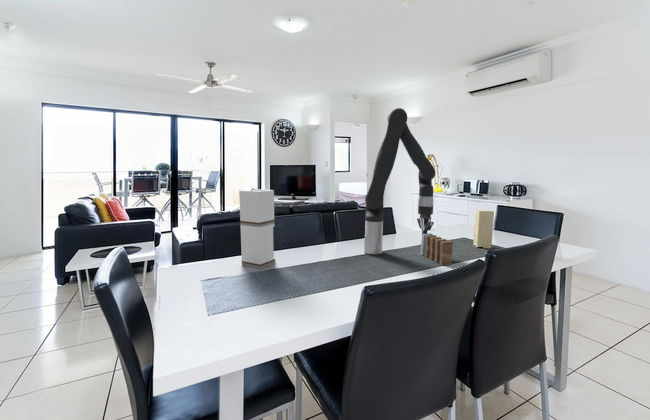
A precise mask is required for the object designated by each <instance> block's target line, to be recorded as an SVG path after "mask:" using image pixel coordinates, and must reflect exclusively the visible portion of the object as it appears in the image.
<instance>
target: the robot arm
mask: <svg viewBox="0 0 650 420" xmlns="http://www.w3.org/2000/svg"><path fill="white" fill-rule="evenodd" d="M407 121H408V114H407V112H406V111H405V110H404V109H403V108H400V107H399V108H398V107H397V108H394V109H392V110H390V112H389V114H388V115H387V128H386V132H385V136H384V138H383V141H382V142H381V145H380V147H379V150H378V153H377V155H376V159H375V163H374V168H373V174H372V179H371V183H370V186H369V189H368V191H367V193H366V194H365V195H366V196H365V217H364V218H365V221H364V222H365V223H364V225H365V227H364V229H365V230H364V250H363V251H364V254H368V255H381V254H383V240H384V239H383V238H384V237H383V234H384V233H383V232H384V231H383V230H384V229H383V228H384V226H383V225H384V199H385V198H384V196H385V191H386V186H387V182H388V180H389V179H390V176H391V174H392V172H393V168H394V165H395V161H396V158H397V155H398V150H399V146H400V142H401V143H402V145H403V147H404V149H405V150H406V152H407V154H408V156H409V158H410V160H411V162H412V163H413V165H415V166H416V167H417V169H418V186H419V188H418V201H417V203H418V204H417V206H418V208H417V214H418V215H419V218H417V219H416V221H417V224H418V227H419V229H421V235H422V234H428V231H431V230H432V227H433V226H434V225H435V223H434V221H432V217H431V216H432V215H433V214H434V186H433V183H432V181H433V179H434V178H435V177H436V170H435V168H434V166H433V164H432V163H431V161H430V160H429V159H428V157H427V156H426V154H425V152H424V150H423V147H422V146H421V144H420V143H419V142H418V141H417V139H416V138H415V137H414V134H412V131H411V130H410V128H409V126H408V123H407Z"/></svg>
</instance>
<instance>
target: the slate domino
mask: <svg viewBox="0 0 650 420" xmlns="http://www.w3.org/2000/svg"><path fill="white" fill-rule="evenodd" d="M428 235H434V234H433V233H427V234H422V233H421V242H420V251H419V252H420V253H419V254H420V255H421V256H425V240H426V236H428Z"/></svg>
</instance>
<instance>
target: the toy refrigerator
mask: <svg viewBox="0 0 650 420" xmlns="http://www.w3.org/2000/svg"><path fill="white" fill-rule="evenodd" d="M474 214H475V215H474V226H473V227H474V231H473V243H472V244H473V246H474V245H475V246H476V247H475V246H474V247H475V248H477V247H483V248H482V249H492V246H493V245H492V244H493V242H492V241H493V231H494V230H493V229H494V215H495V211H494V210H491V209H475V212H474Z"/></svg>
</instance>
